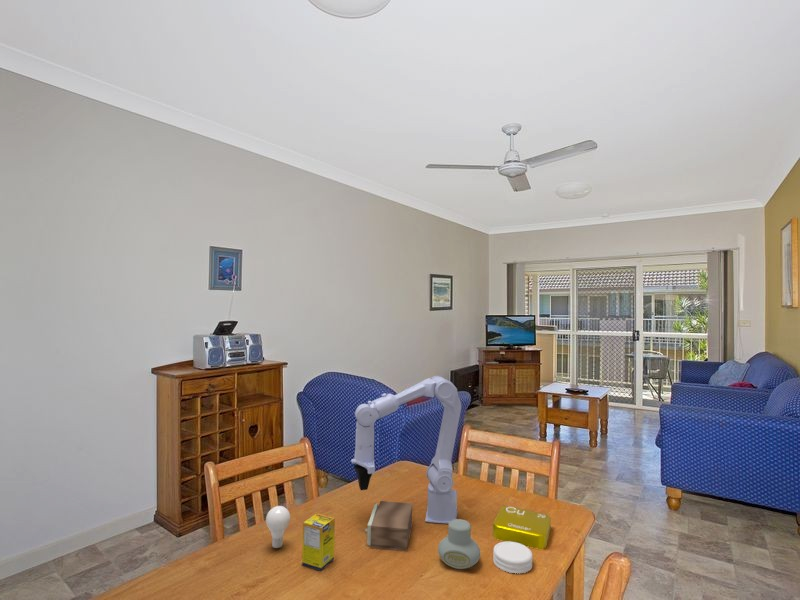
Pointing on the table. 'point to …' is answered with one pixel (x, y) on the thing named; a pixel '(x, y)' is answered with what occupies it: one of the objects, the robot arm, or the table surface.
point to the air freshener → (459, 546)
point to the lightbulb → (277, 524)
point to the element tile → (522, 527)
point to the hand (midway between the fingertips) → (363, 489)
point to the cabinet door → (371, 524)
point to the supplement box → (318, 541)
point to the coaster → (512, 557)
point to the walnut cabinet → (391, 526)
